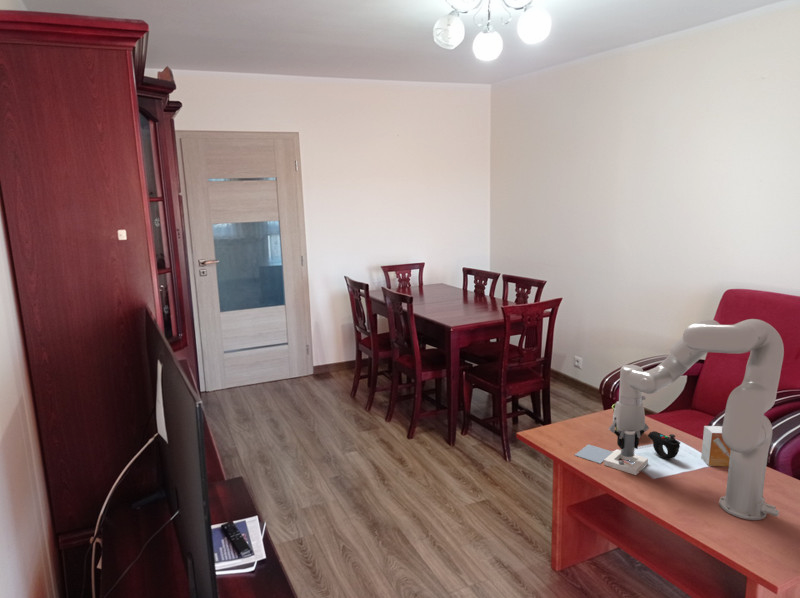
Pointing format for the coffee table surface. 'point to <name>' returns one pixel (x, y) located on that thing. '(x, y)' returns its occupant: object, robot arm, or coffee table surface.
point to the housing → (620, 465)
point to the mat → (593, 453)
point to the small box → (714, 447)
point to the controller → (664, 440)
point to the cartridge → (628, 443)
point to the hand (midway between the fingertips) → (627, 446)
